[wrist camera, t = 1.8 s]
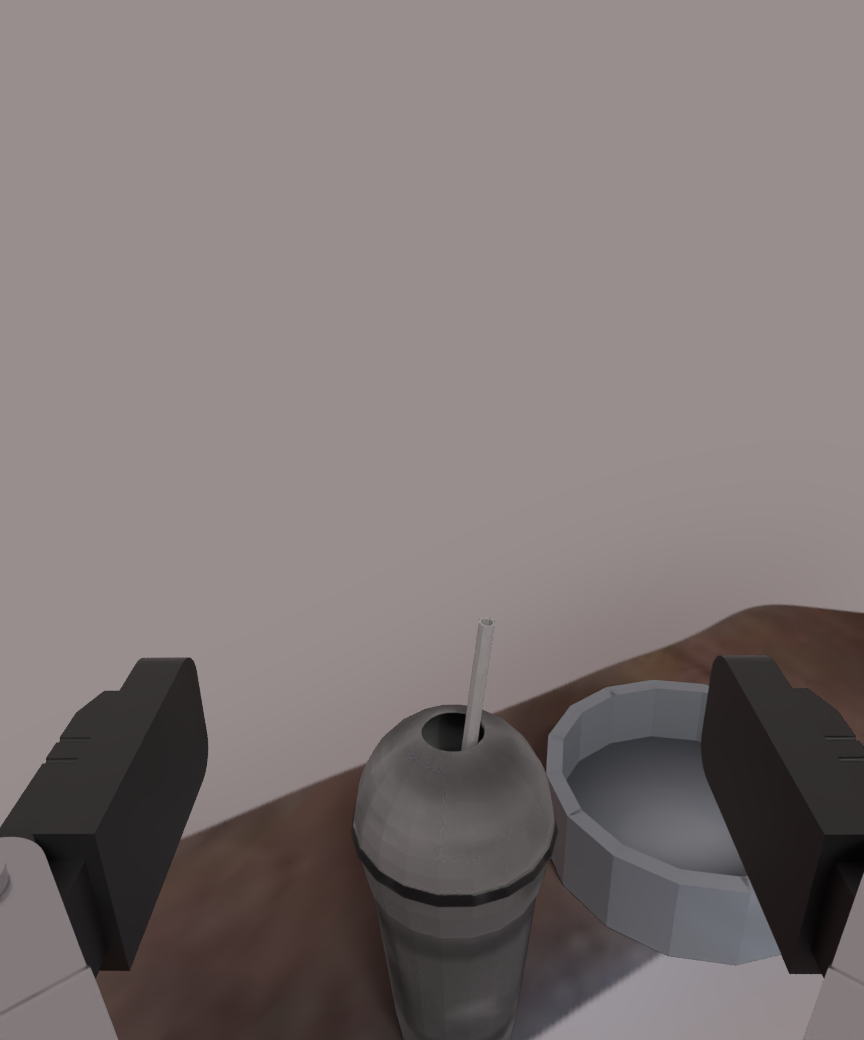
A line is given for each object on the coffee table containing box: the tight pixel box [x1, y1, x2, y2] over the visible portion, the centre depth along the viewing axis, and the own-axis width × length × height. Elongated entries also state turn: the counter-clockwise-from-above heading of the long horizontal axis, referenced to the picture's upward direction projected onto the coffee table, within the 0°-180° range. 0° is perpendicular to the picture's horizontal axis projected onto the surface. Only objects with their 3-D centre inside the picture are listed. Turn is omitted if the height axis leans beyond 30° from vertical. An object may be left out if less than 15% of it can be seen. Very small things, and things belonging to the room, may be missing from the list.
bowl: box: [546, 680, 781, 965], centre depth 41 cm, size 15×15×4 cm
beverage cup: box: [351, 617, 558, 1040], centre depth 29 cm, size 7×7×20 cm
